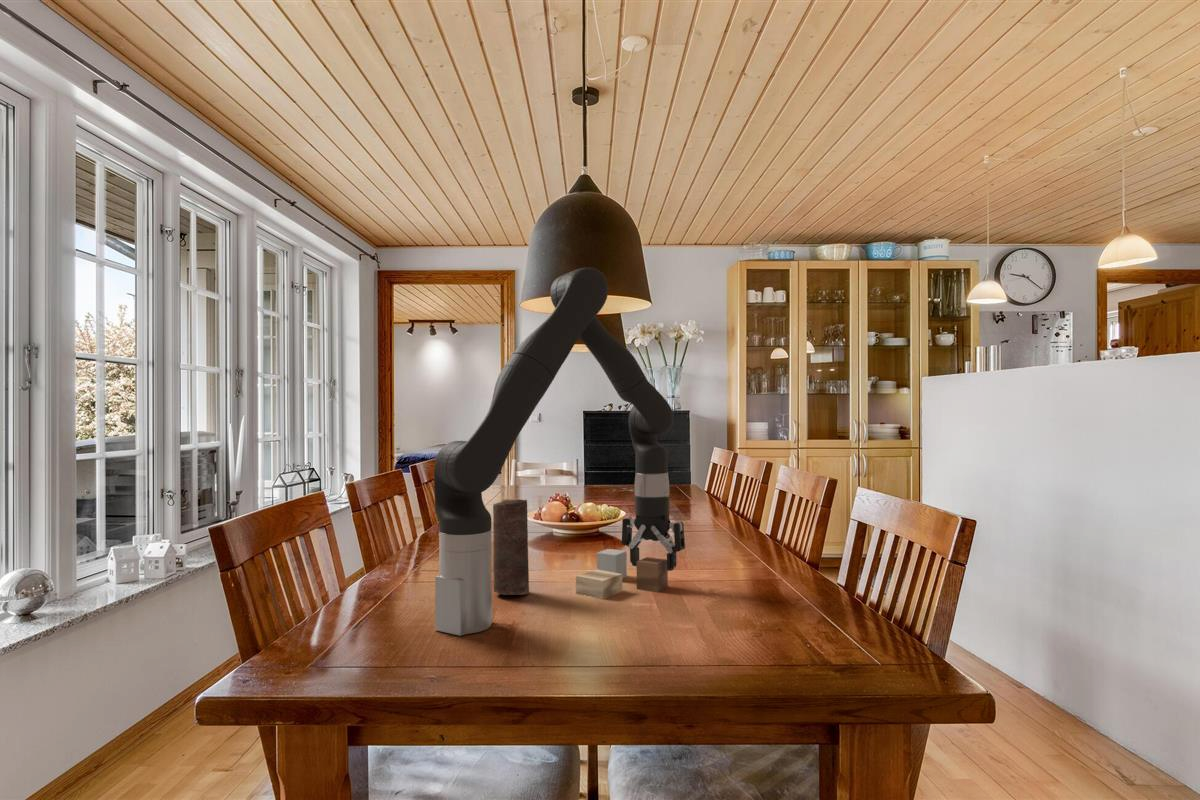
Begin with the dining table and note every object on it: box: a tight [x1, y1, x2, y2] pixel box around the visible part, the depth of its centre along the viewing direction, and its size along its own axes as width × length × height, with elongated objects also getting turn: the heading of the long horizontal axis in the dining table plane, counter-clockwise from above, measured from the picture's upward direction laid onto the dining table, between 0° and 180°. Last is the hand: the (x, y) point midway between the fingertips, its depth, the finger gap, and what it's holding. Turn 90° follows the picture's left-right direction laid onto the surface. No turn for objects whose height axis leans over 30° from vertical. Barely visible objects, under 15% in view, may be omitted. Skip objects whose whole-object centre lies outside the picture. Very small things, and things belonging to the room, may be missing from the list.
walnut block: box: [636, 556, 669, 593], centre depth 144 cm, size 5×5×6 cm
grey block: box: [596, 548, 628, 580], centre depth 153 cm, size 5×5×6 cm
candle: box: [492, 499, 530, 596], centre depth 139 cm, size 8×7×20 cm
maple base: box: [575, 568, 623, 600], centre depth 141 cm, size 7×7×4 cm
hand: (653, 567), depth 145 cm, fingers open, 8 cm apart
